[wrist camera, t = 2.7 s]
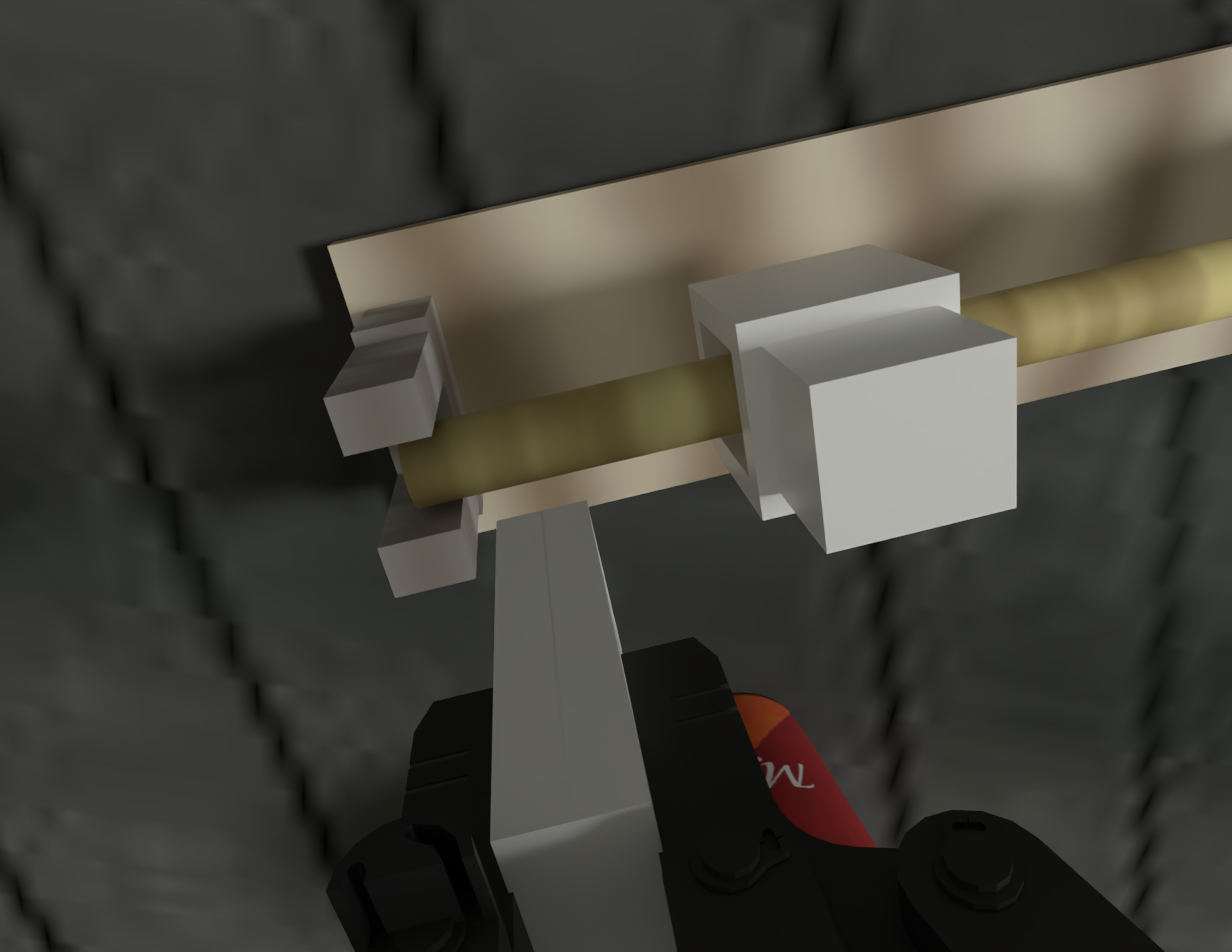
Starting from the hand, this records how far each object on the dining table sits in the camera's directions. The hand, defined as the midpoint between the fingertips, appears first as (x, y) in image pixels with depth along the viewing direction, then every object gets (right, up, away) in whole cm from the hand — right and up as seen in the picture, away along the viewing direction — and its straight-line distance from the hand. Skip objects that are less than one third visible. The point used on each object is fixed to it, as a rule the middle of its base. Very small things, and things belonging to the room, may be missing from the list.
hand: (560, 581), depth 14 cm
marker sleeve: (+6, +5, +9) cm, 12 cm away
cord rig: (+10, +8, +14) cm, 19 cm away
